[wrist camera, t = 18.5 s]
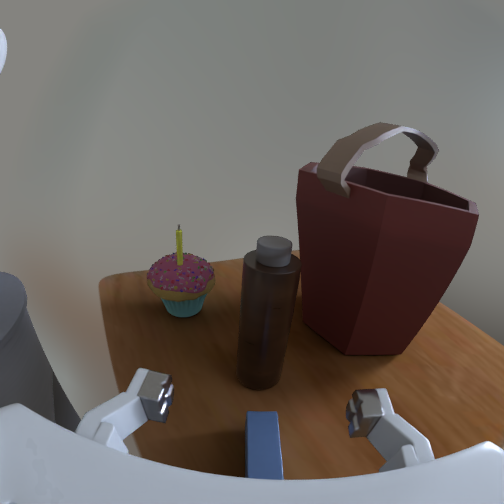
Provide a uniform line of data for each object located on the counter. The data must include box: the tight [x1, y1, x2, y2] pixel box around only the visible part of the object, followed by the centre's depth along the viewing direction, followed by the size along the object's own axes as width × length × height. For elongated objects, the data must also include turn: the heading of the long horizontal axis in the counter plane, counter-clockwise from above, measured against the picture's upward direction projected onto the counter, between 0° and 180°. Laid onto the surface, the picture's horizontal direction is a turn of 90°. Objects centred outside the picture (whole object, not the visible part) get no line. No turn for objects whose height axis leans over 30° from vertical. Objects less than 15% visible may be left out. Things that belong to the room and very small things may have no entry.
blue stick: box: [245, 411, 284, 480], centre depth 15 cm, size 10×2×2 cm, turn 1°
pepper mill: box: [236, 236, 302, 390], centre depth 23 cm, size 4×4×14 cm
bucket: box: [296, 122, 479, 355], centre depth 30 cm, size 24×22×25 cm
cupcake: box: [147, 224, 215, 317], centre depth 33 cm, size 9×8×12 cm
